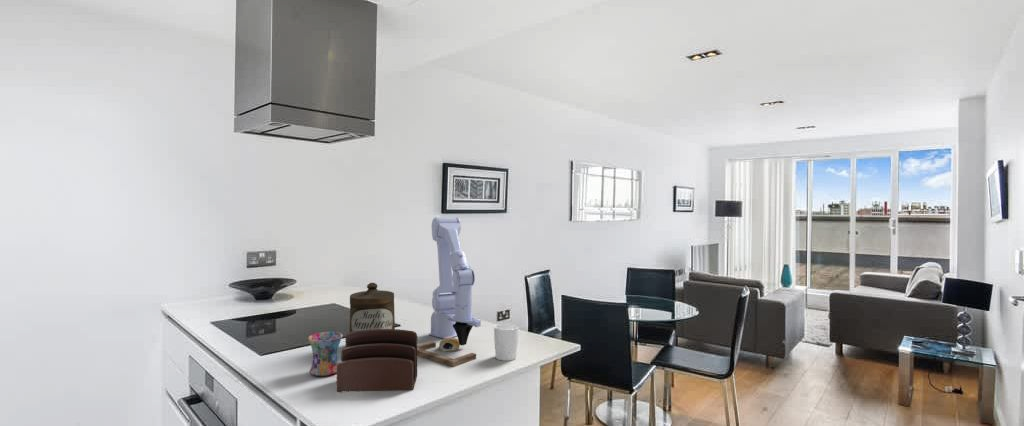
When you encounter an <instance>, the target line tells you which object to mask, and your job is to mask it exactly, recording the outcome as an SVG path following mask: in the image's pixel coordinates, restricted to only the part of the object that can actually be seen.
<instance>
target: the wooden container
mask: <svg viewBox="0 0 1024 426" xmlns="http://www.w3.org/2000/svg"><path fill="white" fill-rule="evenodd" d="M366 288H367V290H364V291H358V292H353V293H352V294H350V296H349V305H350V307H349V309H350V310H349V332H354V331H361V330H373V329H396V327H395V326H396V324H395V323H396V320H395V318H396V317H395V293H394V292H393V291H389V290H379V289H378V284H377V283H375V282H369V283H368V284H367V285H366Z"/></svg>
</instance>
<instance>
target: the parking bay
mask: <svg viewBox="0 0 1024 426" xmlns="http://www.w3.org/2000/svg"><path fill="white" fill-rule="evenodd" d="M436 347H437V342H435V341H428V342H425V343H422V344H417V357H418V356H419V357H421V358H425V359H427V360H430V361H432V362H433V361H434V362H437V363H440V364H443V365H447V366H450V367H453V368H454V367H457V366H460V365H462V364H465V363H469V362H470V361H473V360H476V359H477V353H476V352H470V353H466V354H464V355H461V356H458V357H456V358H455V357H454V358H452V357H448V356H446V355H442V354H438V353H436V352H432V351H429V350H430V349H434V348H436Z"/></svg>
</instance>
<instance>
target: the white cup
mask: <svg viewBox="0 0 1024 426" xmlns="http://www.w3.org/2000/svg"><path fill="white" fill-rule="evenodd" d="M519 327H520V326H519V325H517V324H513V323H498V324H495V325H494V326H493V332H494V333H493V336H494V337H493V340H494V352H495V359H497V360H498V361H503V362H508V361H514V360H516V359H517V356H518V355H517V354H518V344H519Z"/></svg>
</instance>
